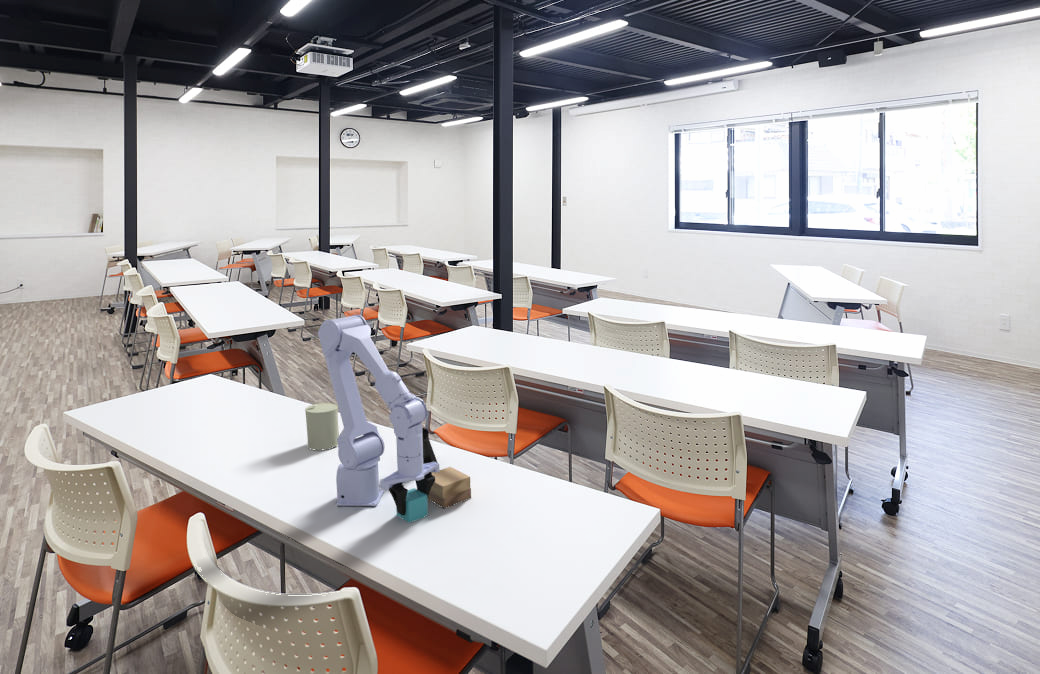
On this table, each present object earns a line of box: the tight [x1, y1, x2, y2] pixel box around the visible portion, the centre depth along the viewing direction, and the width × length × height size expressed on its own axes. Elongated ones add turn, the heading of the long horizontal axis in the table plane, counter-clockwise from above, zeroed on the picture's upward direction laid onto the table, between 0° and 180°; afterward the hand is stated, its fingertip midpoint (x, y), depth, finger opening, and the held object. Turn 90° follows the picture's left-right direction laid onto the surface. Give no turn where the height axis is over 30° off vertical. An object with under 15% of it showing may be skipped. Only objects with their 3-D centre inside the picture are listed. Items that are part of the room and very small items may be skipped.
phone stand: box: [422, 426, 439, 464], centre depth 165 cm, size 9×6×12 cm, turn 135°
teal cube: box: [395, 487, 429, 524], centre depth 140 cm, size 5×5×5 cm
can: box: [304, 402, 340, 451], centre depth 182 cm, size 9×9×12 cm
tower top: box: [430, 466, 471, 499], centre depth 148 cm, size 8×8×3 cm
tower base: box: [427, 487, 472, 509], centre depth 149 cm, size 8×8×3 cm
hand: (412, 509), depth 140 cm, fingers closed on teal cube, 5 cm apart
